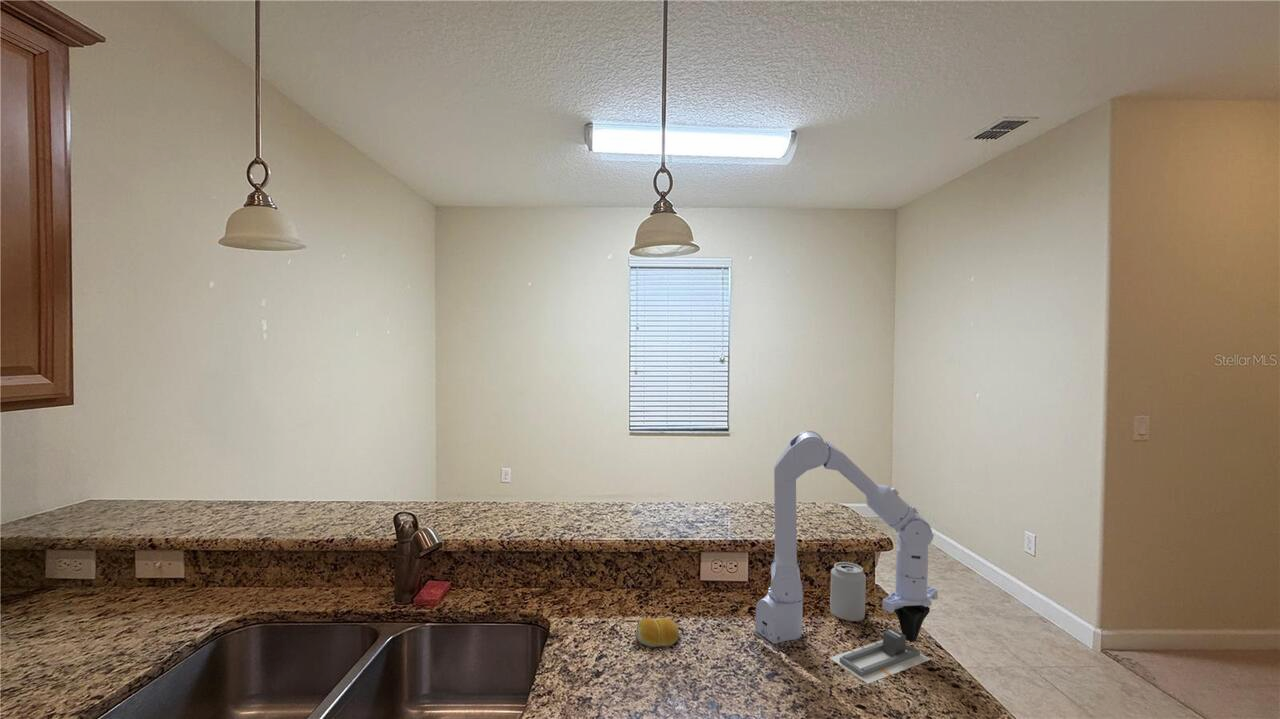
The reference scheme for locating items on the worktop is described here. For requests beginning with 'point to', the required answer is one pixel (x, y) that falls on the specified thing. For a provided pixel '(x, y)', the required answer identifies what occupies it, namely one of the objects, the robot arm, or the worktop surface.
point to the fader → (893, 642)
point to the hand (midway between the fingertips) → (909, 639)
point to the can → (848, 591)
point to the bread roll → (657, 632)
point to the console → (878, 661)
